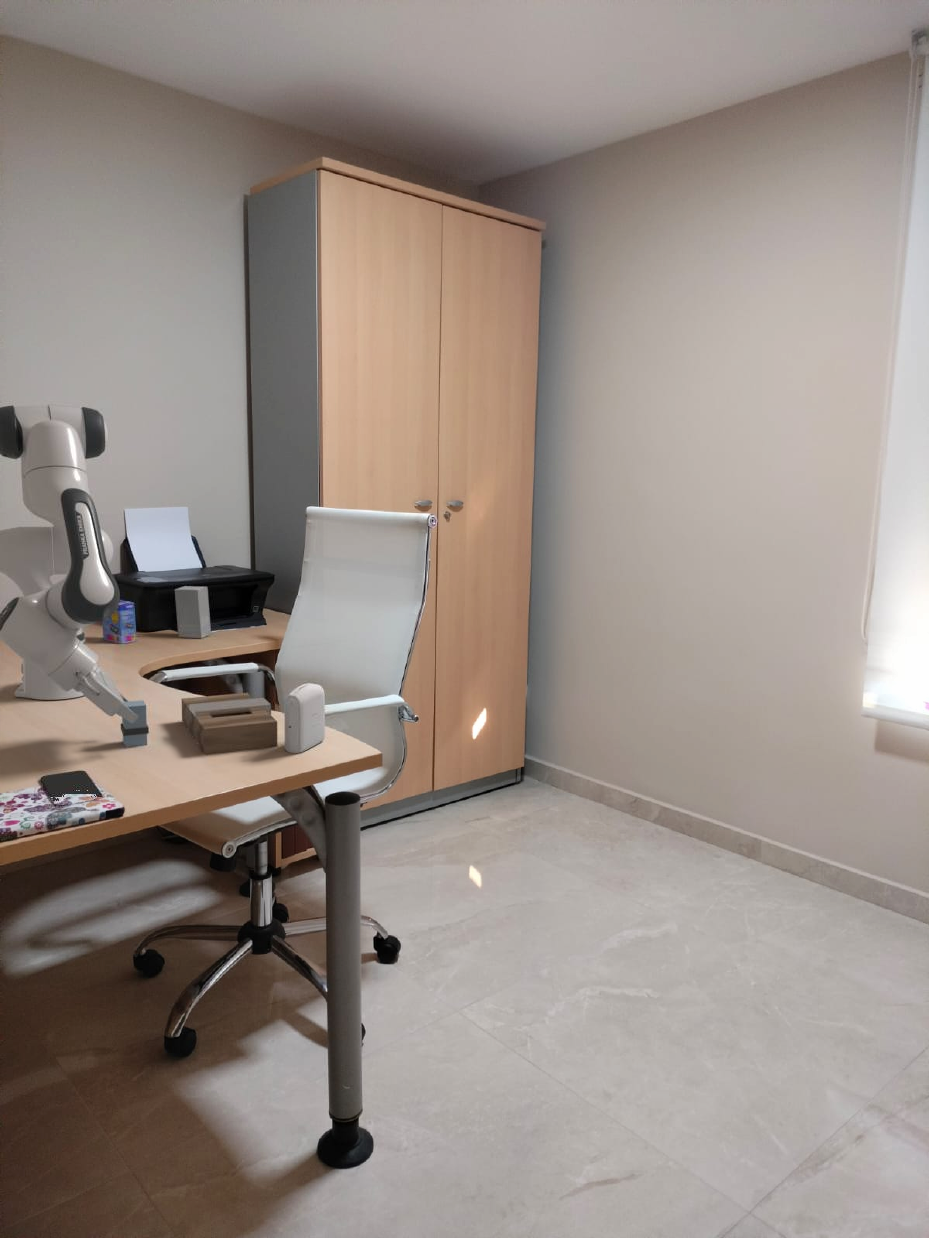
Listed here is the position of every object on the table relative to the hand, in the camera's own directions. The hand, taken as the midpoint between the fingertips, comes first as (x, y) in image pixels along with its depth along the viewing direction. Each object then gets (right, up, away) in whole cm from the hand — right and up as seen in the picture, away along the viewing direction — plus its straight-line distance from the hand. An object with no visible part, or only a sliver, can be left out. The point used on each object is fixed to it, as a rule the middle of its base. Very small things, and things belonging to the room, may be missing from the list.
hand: (131, 713), depth 175 cm
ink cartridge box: (-40, +11, +99) cm, 108 cm away
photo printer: (+33, -7, +3) cm, 34 cm away
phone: (-1, -11, -24) cm, 26 cm away
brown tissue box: (+16, -5, +9) cm, 19 cm away
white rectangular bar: (+17, -3, +9) cm, 19 cm away
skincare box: (-21, +13, +109) cm, 112 cm away
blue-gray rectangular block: (0, -6, +1) cm, 6 cm away
